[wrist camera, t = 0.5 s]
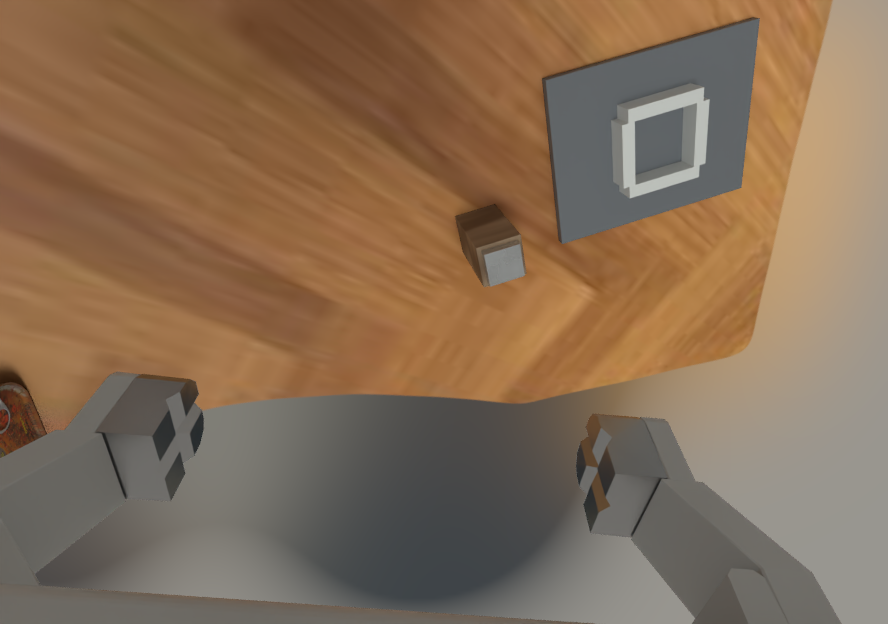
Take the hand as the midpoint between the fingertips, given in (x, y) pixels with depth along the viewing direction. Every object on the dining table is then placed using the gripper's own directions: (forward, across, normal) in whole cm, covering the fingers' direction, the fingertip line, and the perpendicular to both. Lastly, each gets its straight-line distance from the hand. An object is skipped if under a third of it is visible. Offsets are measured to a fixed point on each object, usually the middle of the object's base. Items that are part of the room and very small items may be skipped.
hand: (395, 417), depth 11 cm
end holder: (+44, -21, +5) cm, 49 cm away
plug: (+40, -5, +14) cm, 43 cm away
